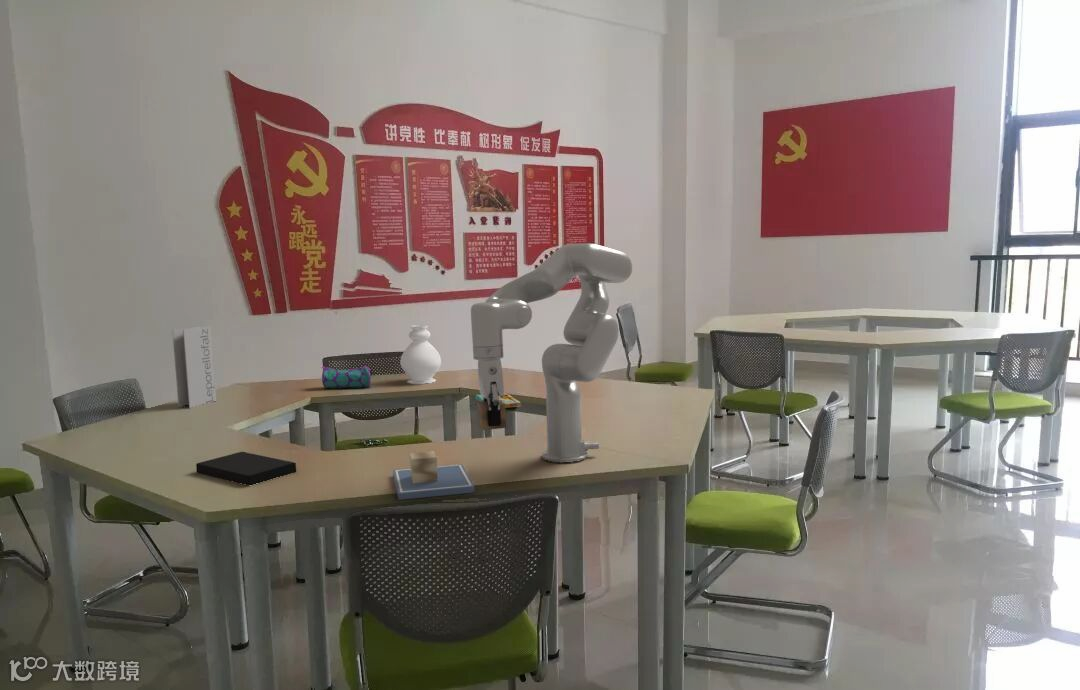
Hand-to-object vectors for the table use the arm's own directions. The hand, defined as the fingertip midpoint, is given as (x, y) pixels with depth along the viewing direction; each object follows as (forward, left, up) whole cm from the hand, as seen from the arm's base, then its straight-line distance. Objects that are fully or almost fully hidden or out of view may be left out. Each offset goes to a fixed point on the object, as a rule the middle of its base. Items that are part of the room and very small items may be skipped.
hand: (491, 421), depth 195 cm
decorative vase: (+4, -153, -15) cm, 153 cm away
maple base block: (+18, 0, -13) cm, 22 cm away
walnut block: (0, 0, -1) cm, 1 cm away
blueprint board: (+16, 0, -14) cm, 21 cm away
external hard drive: (+62, -26, -15) cm, 69 cm away
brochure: (+93, -133, -15) cm, 163 cm away
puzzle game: (-18, -84, -15) cm, 87 cm away
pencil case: (+36, -149, -15) cm, 154 cm away
